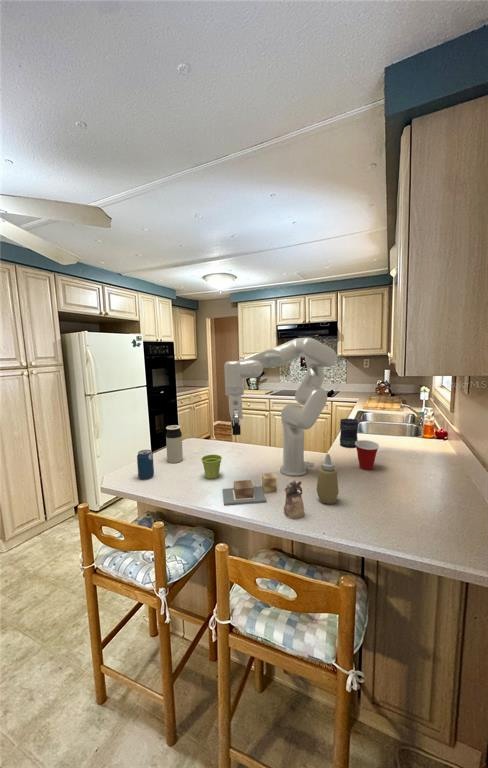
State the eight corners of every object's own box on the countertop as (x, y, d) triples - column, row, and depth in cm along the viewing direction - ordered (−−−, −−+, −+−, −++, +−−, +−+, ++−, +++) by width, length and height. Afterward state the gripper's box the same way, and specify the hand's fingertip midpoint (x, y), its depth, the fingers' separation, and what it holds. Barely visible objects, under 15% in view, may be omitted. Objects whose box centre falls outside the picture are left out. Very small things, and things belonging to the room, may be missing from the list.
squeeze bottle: (322, 493, 123) (322, 449, 120) (341, 499, 117) (342, 453, 115) (312, 501, 116) (313, 455, 114) (333, 508, 111) (333, 460, 109)
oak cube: (273, 486, 129) (273, 473, 129) (276, 492, 124) (276, 478, 124) (262, 487, 129) (261, 473, 128) (264, 493, 124) (264, 478, 123)
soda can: (157, 475, 142) (155, 450, 141) (145, 481, 136) (143, 455, 135) (147, 472, 146) (145, 448, 145) (135, 478, 140) (133, 452, 139)
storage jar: (345, 441, 187) (346, 417, 185) (360, 445, 180) (361, 420, 178) (336, 445, 181) (336, 420, 179) (351, 449, 173) (352, 423, 172)
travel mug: (175, 464, 156) (173, 429, 154) (163, 461, 160) (162, 427, 158) (186, 459, 163) (184, 426, 160) (174, 456, 167) (173, 424, 165)
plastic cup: (359, 472, 141) (360, 447, 140) (350, 464, 152) (351, 440, 151) (383, 472, 142) (383, 446, 140) (372, 463, 152) (373, 439, 151)
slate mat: (261, 488, 128) (261, 485, 128) (266, 502, 116) (266, 500, 116) (222, 490, 126) (222, 488, 126) (224, 505, 114) (224, 503, 114)
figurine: (286, 506, 113) (286, 475, 111) (305, 510, 110) (305, 478, 109) (281, 516, 106) (281, 483, 105) (301, 520, 104) (302, 486, 102)
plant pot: (219, 481, 135) (218, 462, 134) (198, 480, 137) (198, 461, 136) (224, 472, 144) (224, 454, 143) (205, 471, 146) (205, 453, 145)
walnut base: (251, 489, 125) (251, 479, 125) (253, 497, 118) (253, 487, 118) (233, 490, 124) (233, 481, 124) (235, 499, 117) (235, 489, 117)
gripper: (245, 394, 119) (246, 437, 121) (242, 387, 136) (243, 425, 138) (225, 394, 118) (227, 438, 121) (225, 388, 136) (226, 426, 138)
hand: (236, 431), depth 129 cm, fingers open, 9 cm apart
